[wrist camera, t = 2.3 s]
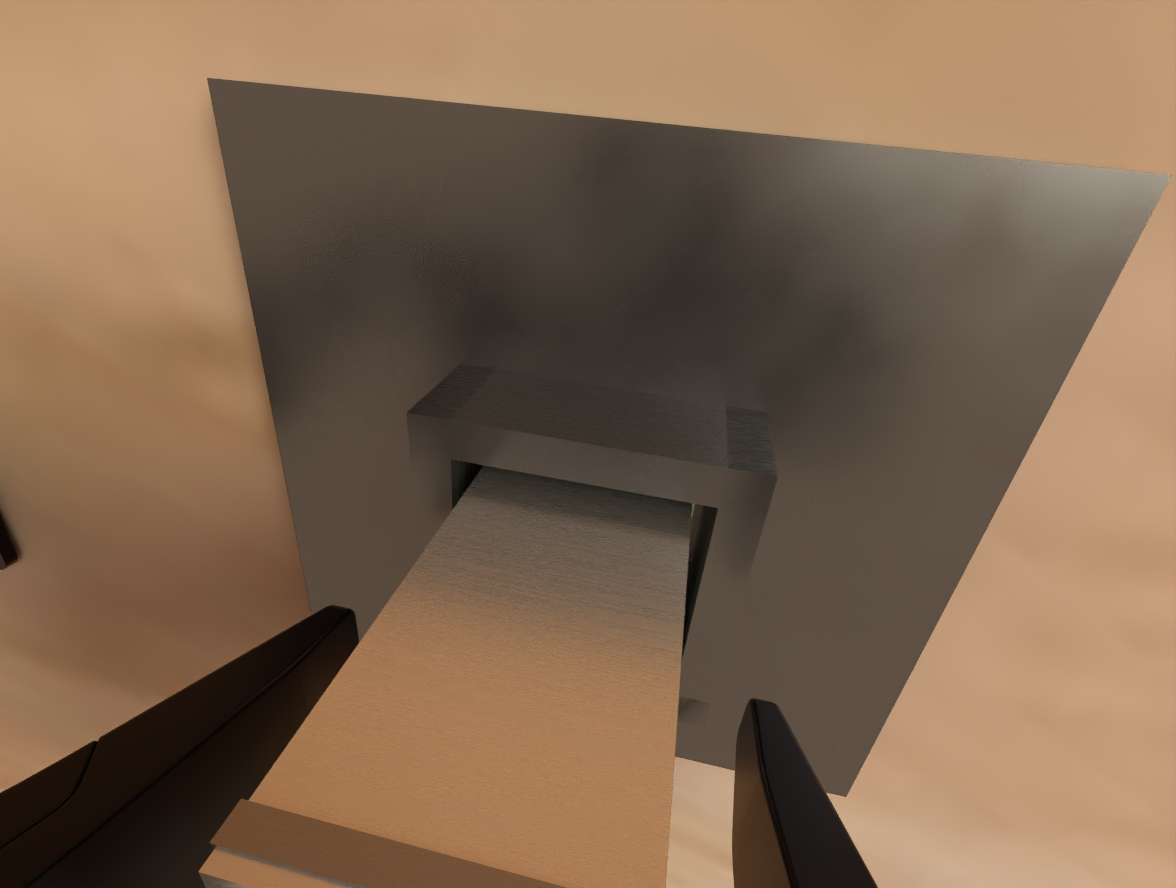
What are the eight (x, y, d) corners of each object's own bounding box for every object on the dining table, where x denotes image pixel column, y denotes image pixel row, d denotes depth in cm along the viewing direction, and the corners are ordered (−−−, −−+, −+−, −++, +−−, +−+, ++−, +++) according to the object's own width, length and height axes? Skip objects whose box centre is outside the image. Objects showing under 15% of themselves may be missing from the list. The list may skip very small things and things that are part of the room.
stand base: (340, 648, 19) (270, 744, 16) (245, 82, 12) (77, 64, 9) (839, 763, 17) (865, 898, 14) (1131, 171, 10) (1323, 188, 6)
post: (505, 565, 15) (270, 1044, 7) (509, 418, 13) (186, 863, 5) (670, 599, 14) (613, 1157, 7) (701, 450, 12) (672, 1006, 4)
